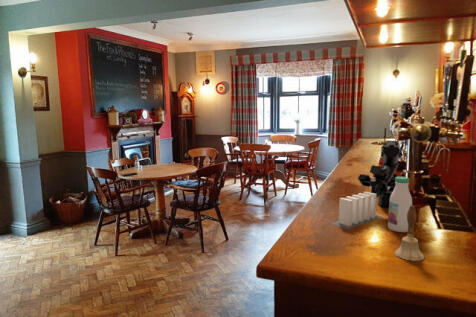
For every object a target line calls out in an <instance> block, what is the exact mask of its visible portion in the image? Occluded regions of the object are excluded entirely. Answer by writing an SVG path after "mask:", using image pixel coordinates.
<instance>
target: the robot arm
mask: <svg viewBox="0 0 476 317" xmlns="http://www.w3.org/2000/svg"><path fill="white" fill-rule="evenodd" d="M401 156H403V152H402V149H401V148H400V146H399V145H398V144H397V141H395V140H385V142H384V144H383V145H382V146H381V148H380V158H381V160H382V162H383V163H382V165H381V166H379V165H375V164H373V165H371V167H370V170H369V173H370V174H372V177H370V175H369V174H364V173H360V174H359V175H358V176H357V179H358V181H359V183H360V184H361V186H363V187H368V188H369V187H371V188H370V189H371V192H370V193H375V194H377V198H378V203H377V206H380V207H382V208H383V209H389V203H390V196H391V194H392V192H393V190H394V188H395V186H396V183H395V178H396V177H398V175H397V173H395V172H396V170H397V168H398V166H399V157H401Z"/></svg>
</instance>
